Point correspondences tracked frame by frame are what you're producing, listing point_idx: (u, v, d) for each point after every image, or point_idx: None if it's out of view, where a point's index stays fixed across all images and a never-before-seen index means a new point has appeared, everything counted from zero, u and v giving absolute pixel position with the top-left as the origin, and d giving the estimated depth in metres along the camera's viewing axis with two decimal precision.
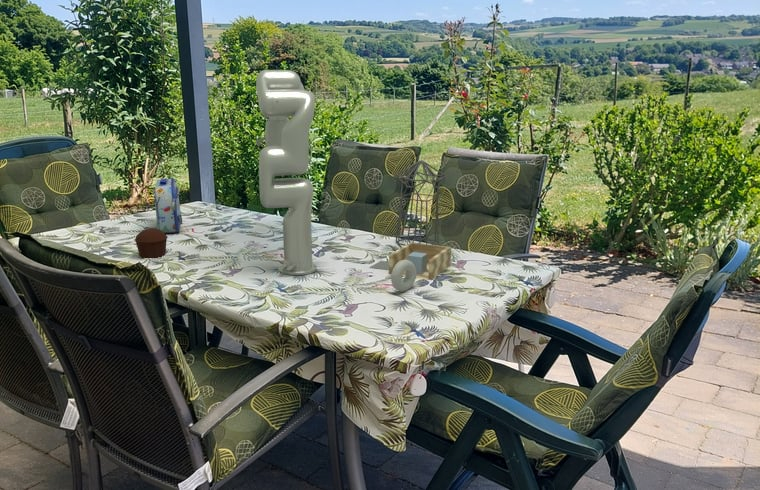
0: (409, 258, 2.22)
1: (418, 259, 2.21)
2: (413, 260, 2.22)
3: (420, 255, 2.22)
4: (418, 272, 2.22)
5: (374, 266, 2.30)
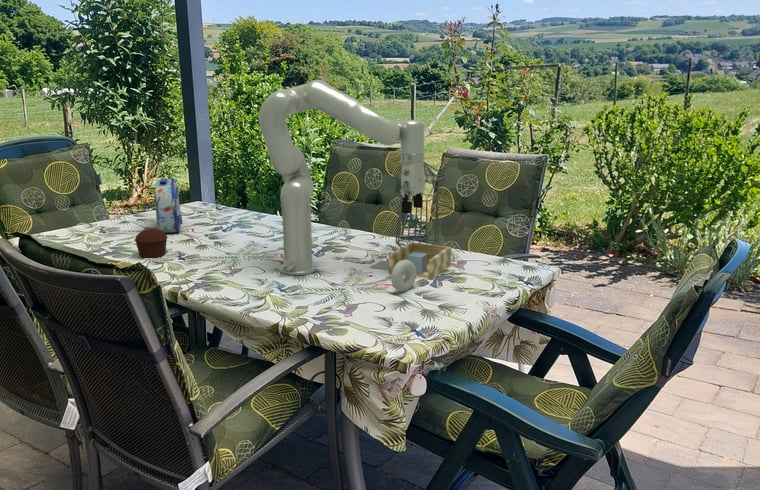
0: (409, 258, 2.22)
1: (418, 259, 2.21)
2: (413, 260, 2.22)
3: (420, 255, 2.22)
4: (418, 272, 2.22)
5: (374, 266, 2.30)
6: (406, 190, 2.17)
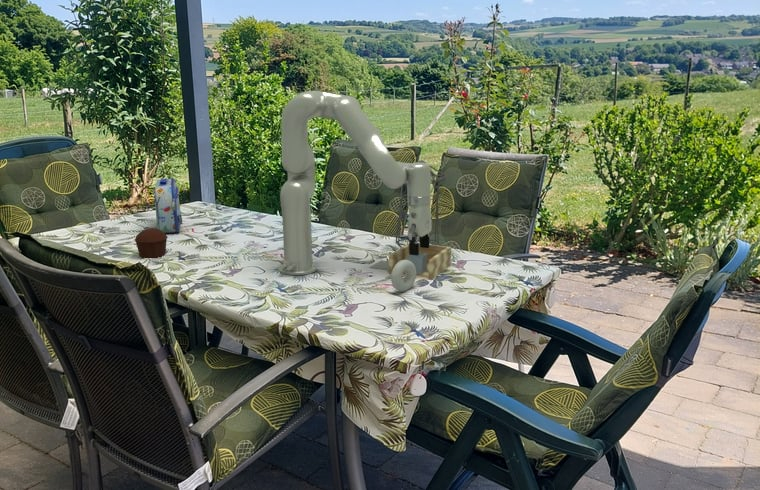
0: (409, 258, 2.22)
1: (418, 259, 2.21)
2: (413, 260, 2.22)
3: (420, 255, 2.22)
4: (418, 272, 2.22)
5: (374, 266, 2.30)
6: (413, 232, 2.18)
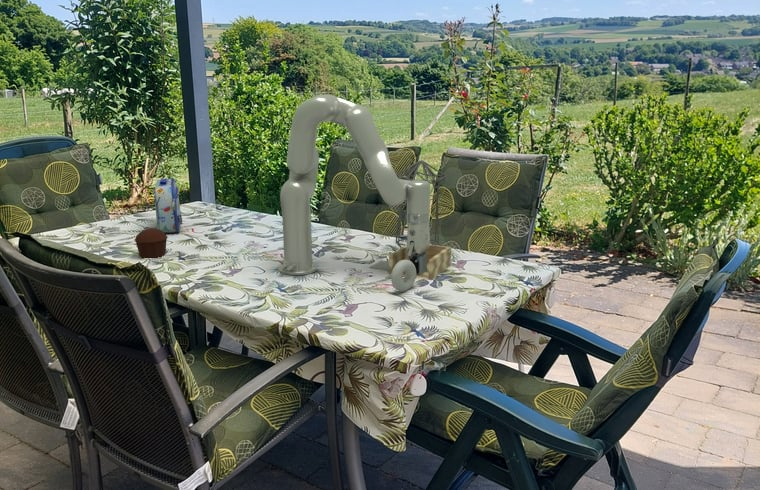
0: None
1: (418, 259, 2.21)
2: None
3: (420, 255, 2.22)
4: None
5: (374, 266, 2.30)
6: None
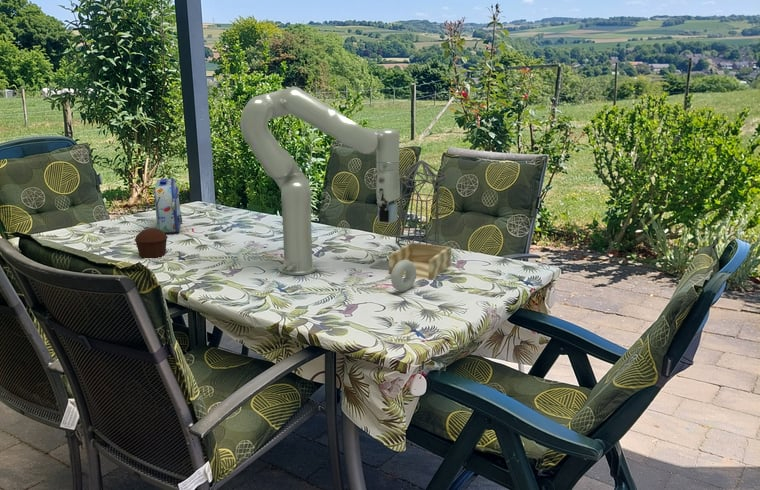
0: None
1: (388, 207, 2.23)
2: None
3: (390, 204, 2.24)
4: None
5: (374, 266, 2.30)
6: (382, 198, 2.23)
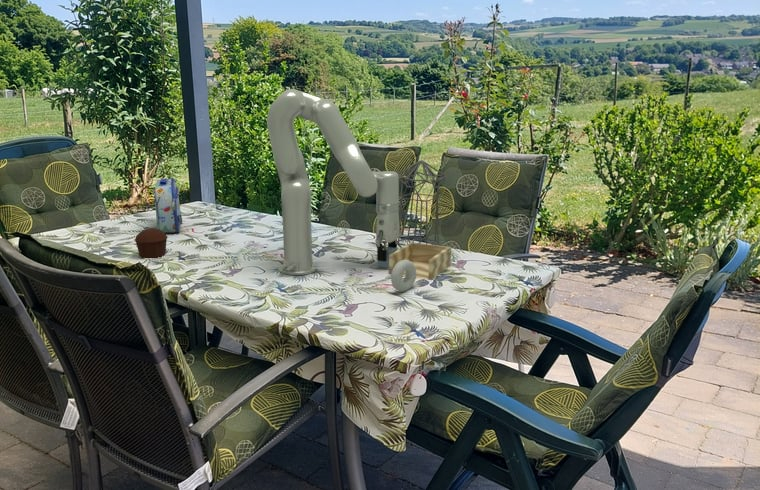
0: None
1: (388, 253, 2.27)
2: None
3: (390, 250, 2.28)
4: (387, 266, 2.28)
5: (374, 266, 2.30)
6: (381, 238, 2.26)
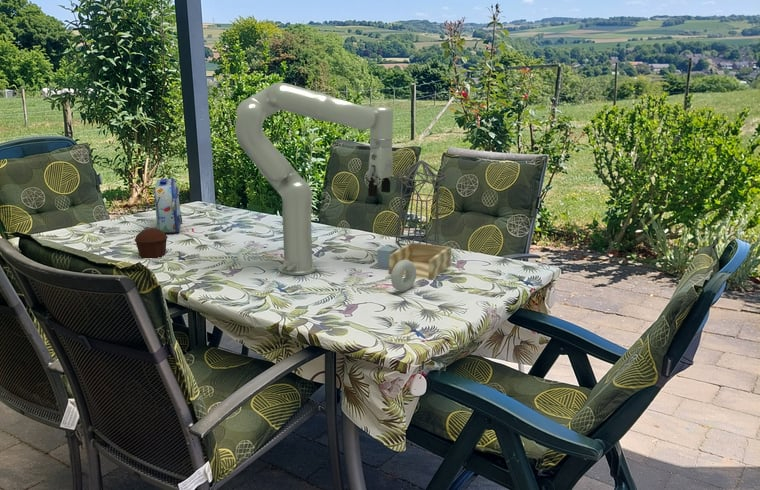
0: (379, 252, 2.29)
1: (388, 253, 2.27)
2: (382, 254, 2.28)
3: (390, 250, 2.28)
4: (387, 266, 2.28)
5: (374, 266, 2.30)
6: (373, 174, 2.25)
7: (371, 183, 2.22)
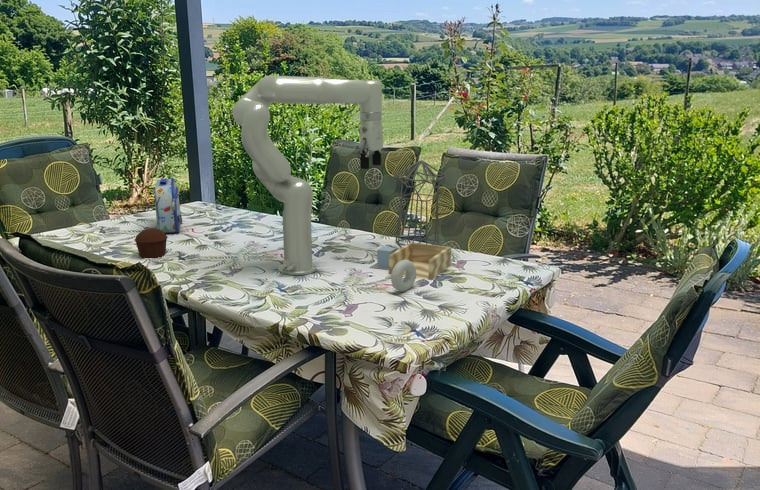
0: (379, 252, 2.29)
1: (388, 253, 2.27)
2: (382, 254, 2.28)
3: (390, 250, 2.28)
4: (387, 266, 2.28)
5: (374, 266, 2.30)
6: (364, 147, 2.30)
7: (363, 156, 2.27)
